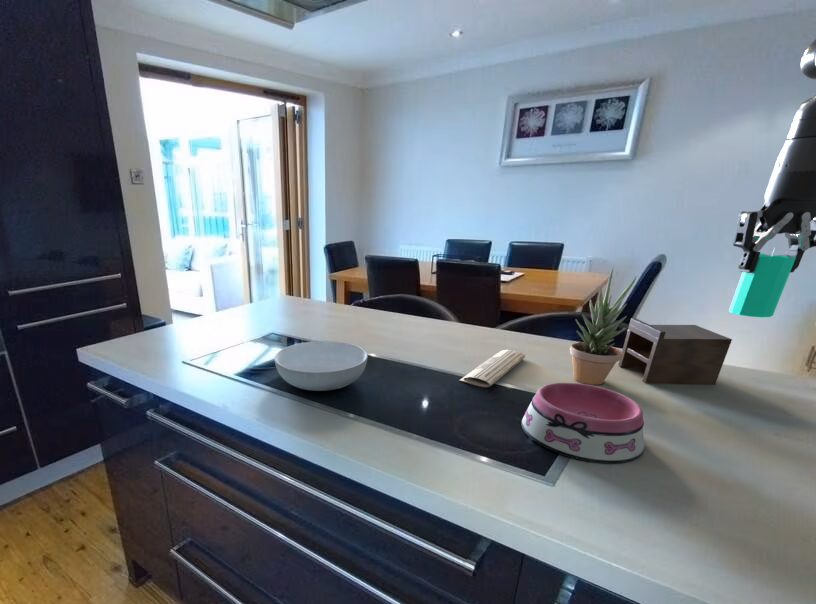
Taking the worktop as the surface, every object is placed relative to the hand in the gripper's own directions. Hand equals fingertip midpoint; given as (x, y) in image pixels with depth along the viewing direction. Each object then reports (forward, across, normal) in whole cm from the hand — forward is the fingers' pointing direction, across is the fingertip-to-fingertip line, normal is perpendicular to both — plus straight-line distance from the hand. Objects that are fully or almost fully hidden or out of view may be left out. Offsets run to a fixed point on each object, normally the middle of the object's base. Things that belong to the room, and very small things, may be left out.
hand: (766, 271), depth 79 cm
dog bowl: (+25, -34, -17) cm, 46 cm away
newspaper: (+25, -40, +14) cm, 49 cm away
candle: (+8, 0, 0) cm, 8 cm away
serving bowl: (+25, -81, +4) cm, 85 cm away
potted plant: (+25, -21, +9) cm, 34 cm away
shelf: (+25, -3, +12) cm, 28 cm away
